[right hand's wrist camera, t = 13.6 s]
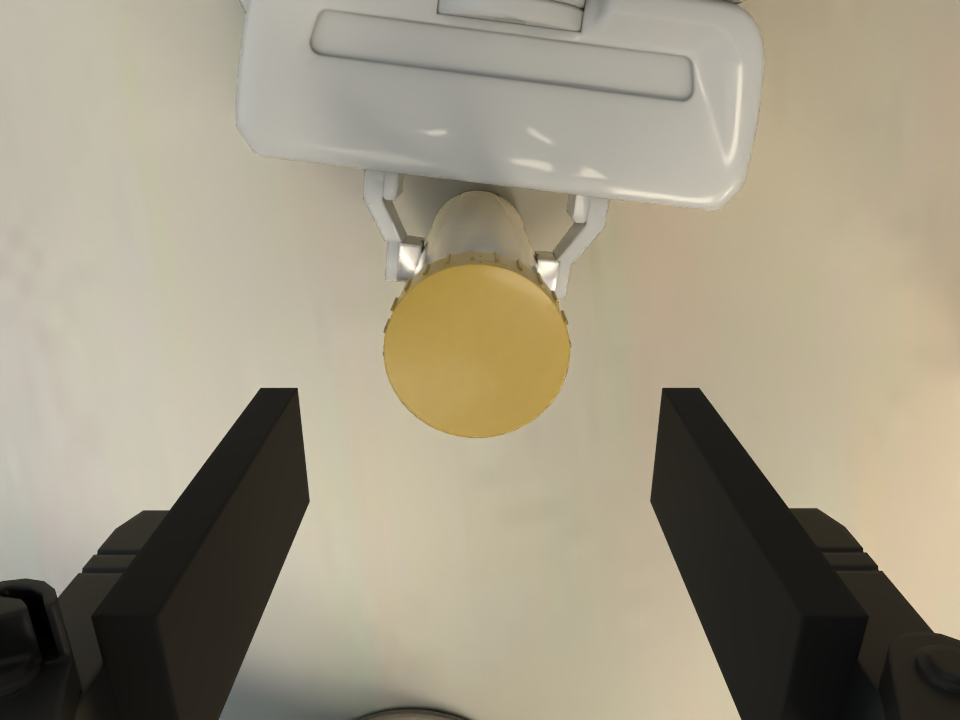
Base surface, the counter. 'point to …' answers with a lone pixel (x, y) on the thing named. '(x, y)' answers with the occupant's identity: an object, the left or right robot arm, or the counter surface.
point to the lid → (476, 345)
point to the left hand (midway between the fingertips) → (476, 287)
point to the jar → (477, 230)
